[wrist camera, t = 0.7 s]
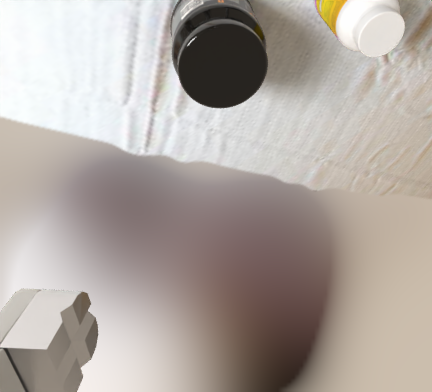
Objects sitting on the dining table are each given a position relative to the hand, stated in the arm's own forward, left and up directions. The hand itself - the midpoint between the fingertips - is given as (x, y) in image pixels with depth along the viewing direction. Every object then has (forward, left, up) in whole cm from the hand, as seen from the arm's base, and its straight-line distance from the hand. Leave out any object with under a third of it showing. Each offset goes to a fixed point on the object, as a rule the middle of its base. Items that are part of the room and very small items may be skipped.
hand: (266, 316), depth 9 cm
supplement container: (+11, -5, -45) cm, 47 cm away
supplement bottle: (+19, +9, -45) cm, 50 cm away
